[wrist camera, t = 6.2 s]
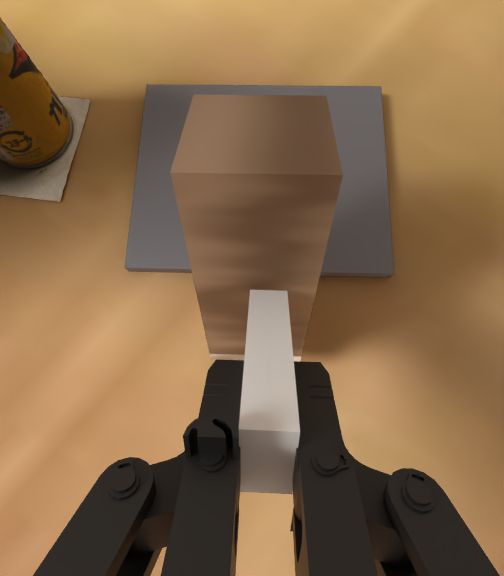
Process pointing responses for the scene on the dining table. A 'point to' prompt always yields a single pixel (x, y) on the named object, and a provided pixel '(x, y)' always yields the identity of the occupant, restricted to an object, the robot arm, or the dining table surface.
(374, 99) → the mat
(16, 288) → the dining table surface
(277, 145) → the walnut block
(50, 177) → the condiment
